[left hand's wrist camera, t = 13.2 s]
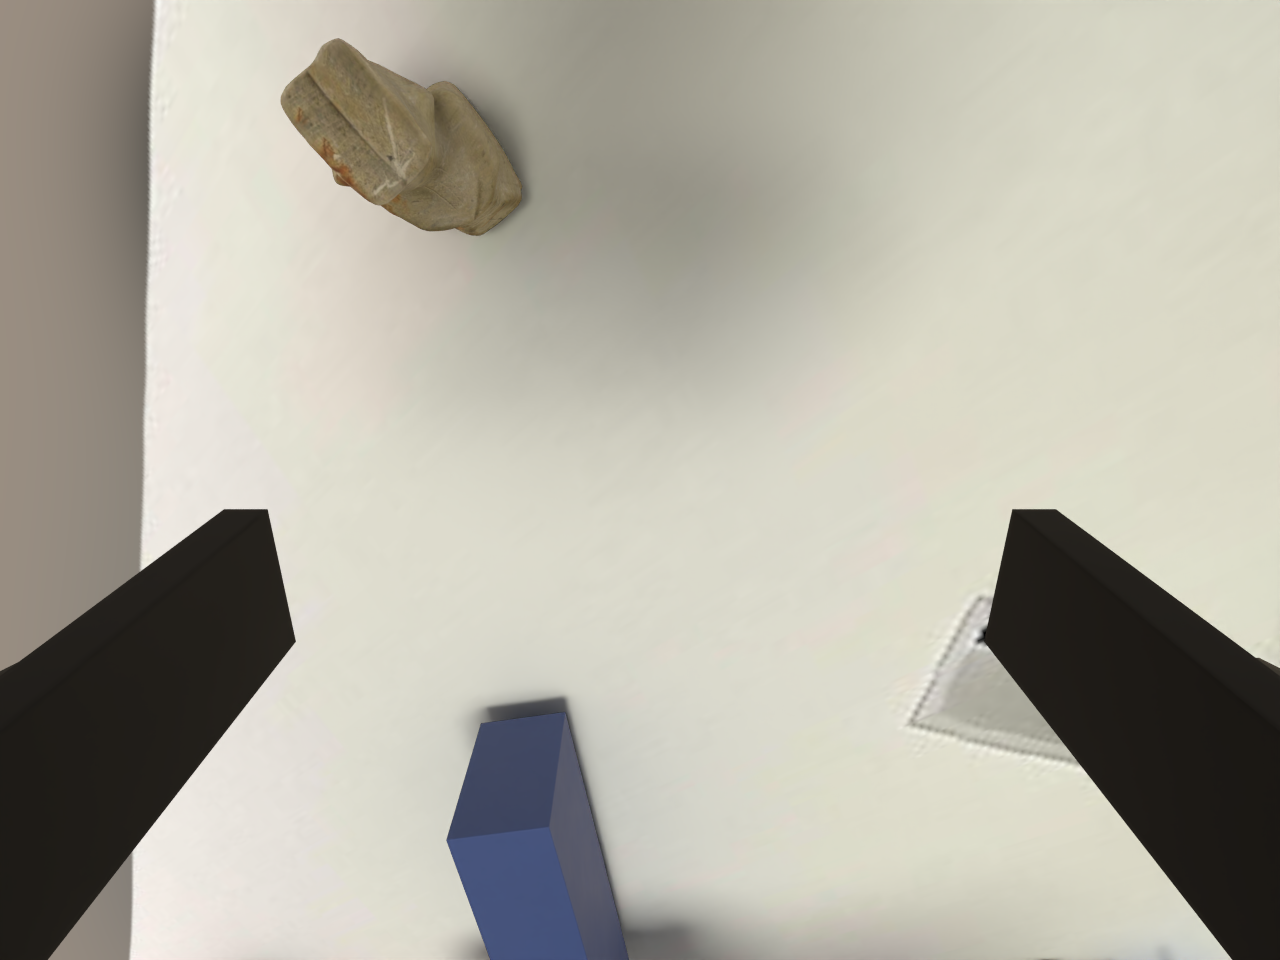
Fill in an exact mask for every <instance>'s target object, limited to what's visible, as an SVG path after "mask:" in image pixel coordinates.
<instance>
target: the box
mask: <svg viewBox="0 0 1280 960" xmlns="http://www.w3.org/2000/svg"><path fill="white" fill-rule="evenodd" d="M447 843H448V846H449V849H450V851H451V854H452V857H453V860H454V862H455V865H456V868H457V870H458V873H459V876H460V879H461V881H462V884H463V887H464V889H465V892H466V895H467V898H468V900H469V903H470V906H471V908H472V911H473V914H474V917H475V919H476V922H477V925H478V927H479V930H480V933H481V936H482V938H483V941H484V944H485V947H486V949H487V952H488V955H489V957H490V960H629V958H628V954H627V950H626V946H625V942H624V938H623V935H622V931H621V927H620V923H619V919H618V915H617V911H616V907H615V903H614V900H613V896H612V892H611V888H610V884H609V880H608V876H607V872H606V869H605V865H604V861H603V857H602V853H601V849H600V845H599V841H598V837H597V834H596V830H595V826H594V822H593V818H592V814H591V810H590V806H589V802H588V799H587V795H586V791H585V787H584V783H583V779H582V775H581V771H580V768H579V764H578V760H577V756H576V752H575V748H574V744H573V740H572V736H571V733H570V729H569V725H568V721H567V717H566V713H565V712H561V713H553V714H546V715H539V716H531V717H524V718H517V719H510V720H502V721H495V722H488V723H481V725H480V729H479V732H478V735H477V739H476V742H475V745H474V749H473V752H472V756H471V759H470V762H469V766H468V769H467V772H466V776H465V779H464V783H463V786H462V789H461V793H460V796H459V799H458V803H457V806H456V810H455V813H454V816H453V820H452V823H451V827H450V830H449V833H448V837H447Z"/></svg>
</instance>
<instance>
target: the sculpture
mask: <svg viewBox="0 0 1280 960" xmlns="http://www.w3.org/2000/svg"><path fill="white" fill-rule="evenodd" d="M281 105H282V108H283V110H284V111H285V113H286V115H287V116H288V118H289V119H290V121H291V122H292V124H293V125H294V126H295V128H296V129H297V130H298V131H299V132H300V134H301V135H302V136H303V137H304V138H305V139H306V141H307V142H308V143H309V145H310V146H311V147H312V148H313V149H314V150H315V151H316V152H317V153H318V154H319V155H320V156H321V157H322V158H323V159H324V160H325V162H326V163H327V164H328V165H329V166H330V167H331V168H332V172H333V177H334V180H335V182H336V183H337V184H339V185H342V186H350V187H351V188H353V189H354V190H355V191H356V192H358V193H359V194H360V195H361V196H362V197H364V198H365V199H366V200H368V201H369V202H371V203H373V204H375V205H381V206H382V207H384V208H385V209H386V210H387V211H389V212H390V213H392V214H394V215H396V216H398V217H400V218H402V219H404V220H405V221H407V222H409V223H411V224H413V225H415V226H417V227H418V228H420V229H423V230H426V231H443V230H449V229H453V228H456V229H458V230H460V231H462V232H464V233H466V234H469V235H476V236H478V235H482V234H484V233H485V232H487V231H488V230H490V229H491V228H492V227H494V226H495V225H497V224H498V223H499V222H500V221H502V220H503V219H504V218H505V217H506V216H507V215H508V214H509V213H511V212H512V211H513V210H514V209H515V208H516V207H517V206H518V204H519V203H520V201H521V199H522V194H521V189H522V185H521V182H520V180H519V179H518V177H517V175H516V174H515V172H514V170H513V168H512V166H511V164H510V162H509V160H508V158H507V156H506V154H505V153H504V151H503V149H502V148H501V146H500V145H499V143H498V141H497V140H496V138H495V137H494V135H493V134H492V132H491V131H490V129H489V128H488V127H487V125H486V124H485V122H484V121H483V120H482V118H481V117H480V115H479V114H478V113H477V112H476V110H475V109H474V108H473V107H472V105H471V104H470V103H469V102H468V100H467V99H466V98H465V97H464V95H463V94H462V93H461V92H460V91H459V90H458V89H457V87H456V86H455V85H453V84H451V83H449V82H446V81H443V82H438V83H436V84H433V85H432V86H430V87H429V88H427V89H425V88H423V87H422V86H420V85H418V84H416V83H414V82H412V81H410V80H408V79H406V78H404V77H402V76H400V75H398V74H396V73H394V72H392V71H390V70H388V69H386V68H384V67H382V66H381V65H378V64H376V63H373V62H371V61H369V60H367V59H366V58H365V57H364V56H363V55H362V54H361V53H360V52H359V51H358V50H356V49H355V48H354V47H352V46H351V45H350V44H348V43H346V42H345V41H343V40H341V39H334V40H331V41H329V42H327V43H326V44H324V45H323V46H322V47H321V48H320V50H319V52H318V54H317V56H316V58H315V60H314V61H313V63H312V64H311V65H310V66H309V67H308V68H307V69H305V70H304V71H303V72H302V73H301V74H299V75H298V76H297V77H296V78H295V79H293V80H292V81H291V82H290V83H289V84H288V85H287V86H286V88H285V89H284V91H283V93H282V95H281Z"/></svg>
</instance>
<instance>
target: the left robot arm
mask: <svg viewBox="0 0 1280 960" xmlns="http://www.w3.org/2000/svg"><path fill="white" fill-rule="evenodd" d="M295 642H296V640H295V636H294V631H293V626H292V622H291V617H290V612H289V608H288V603H287V598H286V594H285V589H284V584H283V579H282V575H281V570H280V565H279V561H278V556H277V551H276V547H275V542H274V537H273V533H272V528H271V523H270V519H269V514H268V509H224V510H223V511H221V512H220V513H219V514H217V515H216V516H215V517H213V518H212V519H210V520H209V521H208V522H206V523H205V524H204V525H202V526H201V527H200V528H198V529H197V530H196V531H194V532H193V533H192V534H190V535H189V536H188V537H186V538H185V539H184V540H182V541H181V542H180V543H178V544H177V545H176V546H174V547H173V548H171V549H170V550H169V551H167V552H166V553H165V554H163V555H162V556H161V557H159V558H158V559H157V560H155V561H154V562H153V563H151V564H150V565H149V566H147V567H146V568H145V569H143V570H142V571H141V572H139V573H138V574H137V575H135V576H134V577H132V578H131V579H130V580H128V581H127V582H126V583H125V584H123V585H122V586H120V587H119V588H118V589H116V590H115V591H114V592H112V593H111V594H110V595H108V596H107V597H106V598H104V599H103V600H102V601H100V602H99V603H98V604H96V605H95V606H94V607H92V608H91V609H89V610H88V611H87V612H85V613H84V614H83V615H81V616H80V617H79V618H77V619H76V620H75V621H73V622H72V623H71V624H69V625H68V626H67V627H65V628H64V629H63V630H61V631H60V632H59V633H57V634H56V635H54V636H53V637H52V638H51V639H49V640H48V641H46V642H45V643H44V644H42V645H41V646H40V647H38V648H37V649H36V650H34V651H33V652H32V653H30V654H29V655H28V656H26V657H25V658H24V659H22V660H21V661H20V662H18V663H16V664H14V665H12V666H10V667H8V668H6V669H4V670H2V671H0V960H48V959H49V957H50V956H51V955H52V954H53V952H54V951H55V950H56V948H57V947H58V946H59V945H60V943H61V942H62V941H63V939H64V938H65V937H66V936H67V934H68V933H69V932H70V930H71V929H72V928H73V927H74V925H75V924H76V923H77V921H78V920H79V919H80V918H81V916H82V915H83V914H84V912H85V911H86V910H87V909H88V907H89V906H90V905H91V904H92V902H93V901H94V900H95V898H96V897H97V896H98V894H99V893H100V892H101V891H102V889H103V888H104V887H105V886H106V884H107V883H108V882H109V880H110V879H111V878H112V877H113V875H114V874H115V873H116V871H117V870H118V869H119V868H120V866H121V865H122V864H123V862H124V861H125V860H126V859H127V857H128V856H129V855H130V854H131V852H132V851H133V850H134V848H135V847H136V846H137V845H138V843H139V842H140V841H141V839H142V838H143V837H144V836H145V834H146V833H147V832H148V830H149V829H150V828H151V827H152V825H153V824H154V823H155V821H156V820H157V819H158V818H159V816H160V815H161V814H162V812H163V811H164V810H165V809H166V807H167V806H168V805H169V803H170V802H171V801H172V800H173V798H174V797H175V796H176V795H177V793H178V792H179V791H180V789H181V788H182V787H183V786H184V784H185V783H186V782H187V780H188V779H189V778H190V777H191V775H192V774H193V773H194V771H195V770H196V769H197V768H198V766H199V765H200V764H201V762H202V761H203V760H204V759H205V757H206V756H207V755H208V753H209V752H210V751H211V750H212V748H213V747H214V746H215V745H216V743H217V742H218V741H219V739H220V738H221V737H222V736H223V734H224V733H225V732H226V730H227V729H228V728H229V727H230V725H231V724H232V723H233V721H234V720H235V719H236V718H237V716H238V715H239V714H240V712H241V711H242V710H243V709H244V707H245V706H246V705H247V703H248V702H249V701H250V700H251V698H252V697H253V696H254V694H255V693H256V692H257V691H258V689H259V688H260V687H261V686H262V684H263V683H264V682H265V680H266V679H267V678H268V677H269V675H270V674H271V673H272V671H273V670H274V669H275V668H276V666H277V665H278V664H279V662H280V661H281V660H282V659H283V657H284V656H285V655H286V653H287V652H288V651H289V650H290V648H291V647H292V646H293V644H294V643H295ZM984 642H985V643H986V644H987V646H988V647H989V648H990V650H991V651H992V652H993V653H994V655H995V656H996V657H997V659H998V660H999V661H1000V662H1001V664H1002V665H1003V666H1004V668H1005V669H1006V670H1007V671H1008V673H1009V674H1010V675H1011V677H1012V678H1013V679H1014V680H1015V682H1016V683H1017V684H1018V686H1019V687H1020V688H1021V689H1022V691H1023V692H1024V693H1025V694H1026V696H1027V697H1028V698H1029V700H1030V701H1031V702H1032V703H1033V705H1034V706H1035V707H1036V709H1037V710H1038V711H1039V712H1040V714H1041V715H1042V716H1043V718H1044V719H1045V720H1046V721H1047V723H1048V724H1049V725H1050V727H1051V728H1052V729H1053V730H1054V732H1055V733H1056V734H1057V736H1058V737H1059V738H1060V739H1061V741H1062V742H1063V743H1064V745H1065V746H1066V747H1067V748H1068V750H1069V751H1070V752H1071V753H1072V755H1073V756H1074V757H1075V759H1076V760H1077V761H1078V762H1079V764H1080V765H1081V766H1082V768H1083V769H1084V770H1085V771H1086V773H1087V774H1088V775H1089V777H1090V778H1091V779H1092V780H1093V782H1094V783H1095V784H1096V786H1097V787H1098V788H1099V789H1100V791H1101V792H1102V793H1103V795H1104V796H1105V797H1106V798H1107V800H1108V801H1109V802H1110V803H1111V805H1112V806H1113V807H1114V809H1115V810H1116V811H1117V812H1118V814H1119V815H1120V816H1121V818H1122V819H1123V820H1124V821H1125V823H1126V824H1127V825H1128V827H1129V828H1130V829H1131V830H1132V832H1133V833H1134V834H1135V836H1136V837H1137V838H1138V839H1139V841H1140V842H1141V843H1142V845H1143V846H1144V847H1145V848H1146V850H1147V851H1148V852H1149V854H1150V855H1151V856H1152V857H1153V859H1154V860H1155V861H1156V862H1157V864H1158V865H1159V866H1160V868H1161V869H1162V870H1163V871H1164V873H1165V874H1166V875H1167V877H1168V878H1169V879H1170V880H1171V882H1172V883H1173V884H1174V886H1175V887H1176V888H1177V889H1178V891H1179V892H1180V893H1181V895H1182V896H1183V897H1184V898H1185V900H1186V901H1187V902H1188V904H1189V905H1190V906H1191V907H1192V909H1193V910H1194V911H1195V913H1196V914H1197V915H1198V916H1199V918H1200V919H1201V920H1202V921H1203V923H1204V924H1205V925H1206V927H1207V928H1208V929H1209V930H1210V932H1211V933H1212V934H1213V936H1214V937H1215V938H1216V939H1217V941H1218V942H1219V943H1220V945H1221V946H1222V947H1223V948H1224V950H1225V951H1226V952H1227V954H1228V955H1229V956H1230V957H1231V959H1232V960H1280V668H1278V667H1276V666H1274V665H1272V664H1270V663H1268V662H1266V661H1264V660H1262V659H1260V658H1255V657H1254V656H1252V655H1251V654H1250V653H1248V652H1247V651H1246V650H1244V649H1243V648H1242V647H1240V646H1239V645H1238V644H1236V643H1235V642H1234V641H1232V640H1231V639H1230V638H1228V637H1227V636H1226V635H1224V634H1223V633H1221V632H1220V631H1219V630H1217V629H1216V628H1215V627H1213V626H1212V625H1211V624H1209V623H1208V622H1207V621H1205V620H1204V619H1203V618H1201V617H1200V616H1199V615H1197V614H1196V613H1195V612H1193V611H1192V610H1191V609H1189V608H1188V607H1187V606H1185V605H1184V604H1182V603H1181V602H1180V601H1178V600H1177V599H1176V598H1174V597H1173V596H1172V595H1170V594H1169V593H1168V592H1166V591H1165V590H1164V589H1162V588H1161V587H1160V586H1158V585H1157V584H1156V583H1154V582H1153V581H1152V580H1150V579H1149V578H1148V577H1146V576H1145V575H1143V574H1142V573H1141V572H1139V571H1138V570H1137V569H1135V568H1134V567H1133V566H1131V565H1130V564H1129V563H1127V562H1126V561H1125V560H1123V559H1122V558H1121V557H1119V556H1118V555H1117V554H1115V553H1114V552H1113V551H1111V550H1110V549H1109V548H1107V547H1106V546H1104V545H1103V544H1102V543H1100V542H1099V541H1098V540H1096V539H1095V538H1094V537H1092V536H1091V535H1090V534H1088V533H1087V532H1086V531H1084V530H1083V529H1082V528H1080V527H1079V526H1078V525H1076V524H1075V523H1074V522H1072V521H1071V520H1070V519H1068V518H1067V517H1065V516H1064V515H1063V514H1061V513H1060V512H1059V511H1057V510H1056V509H1012V514H1011V519H1010V523H1009V528H1008V533H1007V537H1006V542H1005V547H1004V551H1003V556H1002V561H1001V565H1000V570H999V575H998V579H997V584H996V589H995V594H994V598H993V603H992V608H991V612H990V617H989V622H988V626H987V631H986V636H985V640H984Z"/></svg>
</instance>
